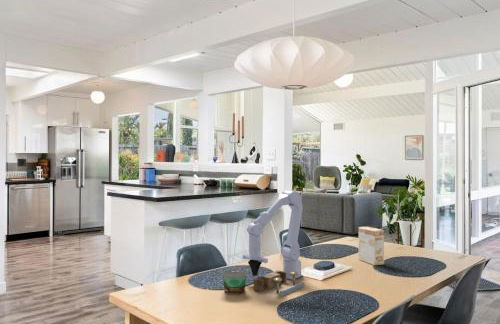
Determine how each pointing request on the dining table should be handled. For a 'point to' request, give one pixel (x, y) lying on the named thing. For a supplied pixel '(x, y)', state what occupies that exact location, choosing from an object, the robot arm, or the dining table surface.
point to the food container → (234, 281)
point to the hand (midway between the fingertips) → (255, 275)
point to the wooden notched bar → (268, 280)
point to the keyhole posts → (281, 280)
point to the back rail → (291, 288)
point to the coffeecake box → (371, 245)
